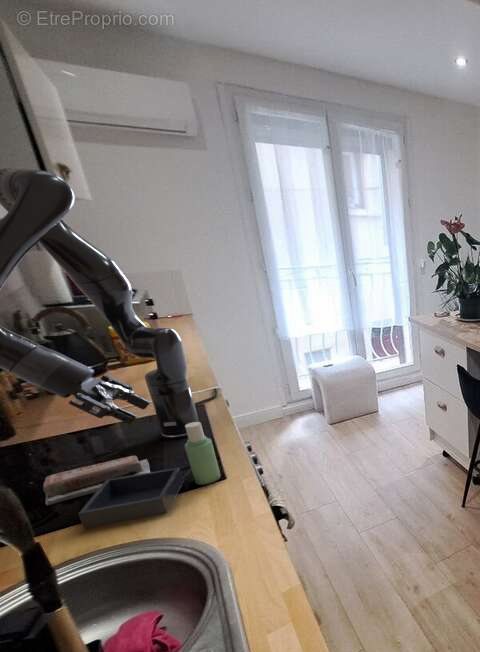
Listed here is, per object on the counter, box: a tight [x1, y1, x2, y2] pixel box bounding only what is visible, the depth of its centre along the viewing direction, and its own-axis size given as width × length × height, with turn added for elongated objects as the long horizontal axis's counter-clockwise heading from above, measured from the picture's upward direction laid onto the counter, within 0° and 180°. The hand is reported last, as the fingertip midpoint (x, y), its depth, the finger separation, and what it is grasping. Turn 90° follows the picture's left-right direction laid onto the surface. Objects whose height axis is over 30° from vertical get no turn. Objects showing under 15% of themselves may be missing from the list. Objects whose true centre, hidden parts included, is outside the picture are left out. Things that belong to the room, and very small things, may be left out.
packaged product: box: [42, 455, 151, 506], centre depth 101 cm, size 18×5×10 cm
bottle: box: [184, 421, 222, 486], centre depth 102 cm, size 5×5×16 cm
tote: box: [77, 467, 184, 530], centre depth 94 cm, size 14×14×5 cm
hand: (141, 412), depth 95 cm, fingers open, 8 cm apart
